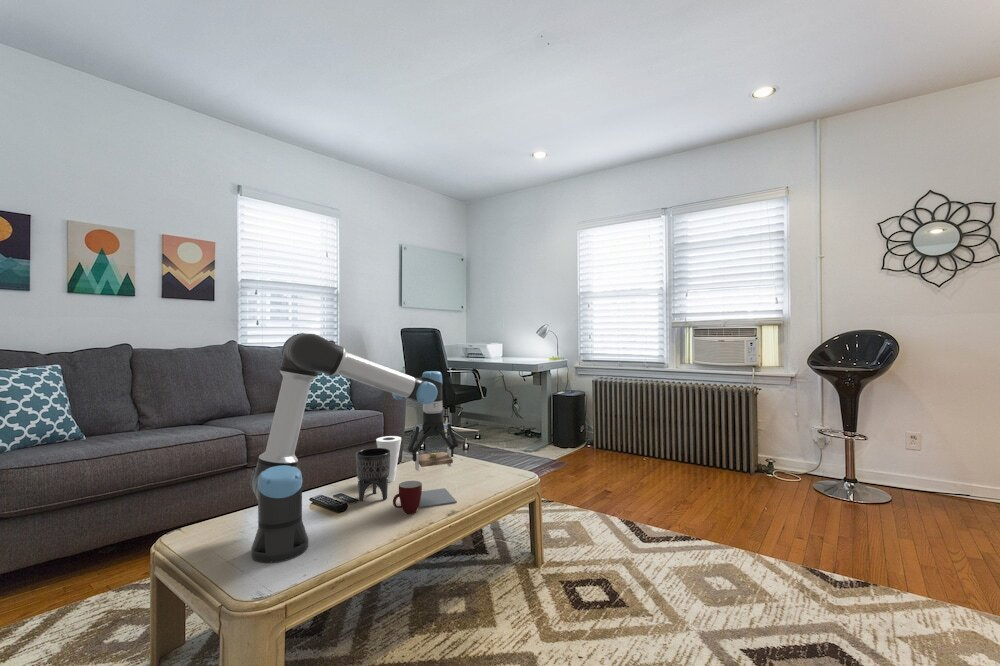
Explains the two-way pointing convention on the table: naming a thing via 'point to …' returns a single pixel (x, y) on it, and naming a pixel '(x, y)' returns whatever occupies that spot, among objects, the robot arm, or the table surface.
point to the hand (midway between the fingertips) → (433, 467)
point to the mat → (436, 498)
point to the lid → (434, 459)
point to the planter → (373, 470)
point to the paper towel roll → (394, 447)
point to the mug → (409, 496)
